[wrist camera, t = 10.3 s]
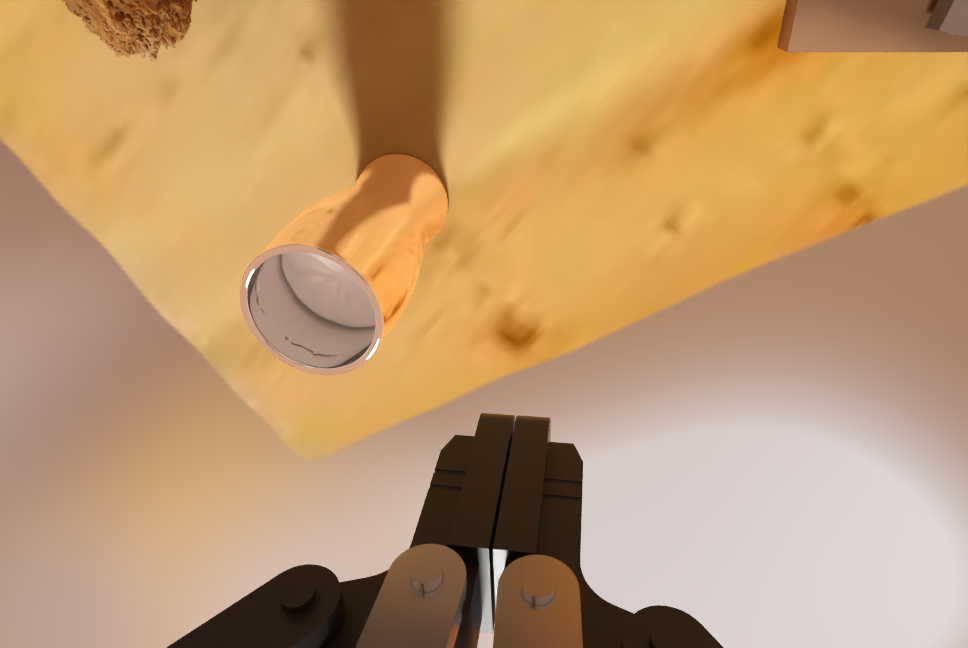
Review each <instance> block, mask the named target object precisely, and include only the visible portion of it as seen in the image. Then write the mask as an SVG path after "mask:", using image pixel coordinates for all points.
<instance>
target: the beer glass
mask: <svg viewBox="0 0 968 648" xmlns="http://www.w3.org/2000/svg"><path fill="white" fill-rule="evenodd" d="M447 212H448V198H447V193H446V190H445V187H444V185H443V183H442V181H441V179H440V178H439V176H438V175H437V174H436V173H435V171H434V170H433V169H432V168H431V167H429V166H428V165H427V164H426V163H424V162H423V161H421V160H419V159H417V158H415V157H412V156H408V155H404V154H390V155H385V156H382V157H379V158H377V159H375V160H374V161H372V162H371V163H369V164H368V165H367V166H366V167H365V168H364V170H363V171H362V172H361V174H360V176H359V177H358V179H357V182H356V184H355V186H354V187H352V188H349V189H347V190H344V191H341V192H339V193H336V194H334V195H331V196H329V197H327V198H325V199H323V200H321V201H319V202H317V203H315V204H313V205H311V206H310V207H308V208H307V209H306V210H304V211H303V212H302V213H300V214H299V215H298V216H296V217H295V218H294V219H293V220H291V221H290V222H289V223H288V224H287V225H286V226H285V227H284V228H283V229H282V230H281V231H280V232H279V233H278V234H277V235H276V236H275V238H274V239H273V240H272V241H271V242H270V243H269V244H268V245H267V247H266V248H265V249H264V250H263V251H262V253H261V254H260V255H259V256H257V257H256V258H255V259H254V260H253V261H252V262H251V264H250V265H249V266H248V268H247V270H246V271H245V273H244V276H243V278H242V282H241V287H240V302H241V308H242V312H243V315H244V318H245V320H246V322H247V325H248V326H249V328H250V330H251V332H252V333H253V335H254V336H255V337H256V339H257V340H258V341H259V342H260V343H261V345H262V346H263V347H264V348H265V349H266V350H268V351H269V352H270V353H271V354H272V355H274V356H275V357H276V358H278V359H279V360H281V361H282V362H284V363H286V364H288V365H290V366H292V367H294V368H296V369H299V370H302V371H305V372H309V373H314V374H321V375H334V374H341V373H346V372H349V371H352V370H354V369H356V368H358V367H360V366H361V365H363V364H364V363H366V362H367V361H368V360H369V359H370V358H371V357H372V356H373V354H374V353H375V351H376V350H377V348H378V346H379V345H380V343H381V342H382V341H383V339H384V338H385V337H386V336H387V334H388V333H389V332H390V330H391V329H392V328H393V326H394V325H395V323H396V322H397V320H398V319H399V317H400V316H401V314H402V312H403V311H404V309H405V307H406V306H407V303H408V301H409V299H410V297H411V295H412V293H413V291H414V288H415V285H416V282H417V278H418V275H419V271H420V267H421V261H422V256H423V249H424V244H425V243H427V242H428V241H430V240H431V239H432V238H433V237H434V236H435V235H436V234H437V233H438V232H439V231H440V229H441V228H442V226H443V224H444V222H445V220H446V217H447Z"/></svg>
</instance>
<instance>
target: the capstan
mask: <svg viewBox="0 0 968 648" xmlns="http://www.w3.org/2000/svg"><path fill="white" fill-rule="evenodd" d="M925 28H928V29H933V30H938V31H942V32H947V33H952V34H957V35H962V36H967V37H968V0H938V2H937V4H936V6H935V8H934V10H933V12H932V14H931V16H930V18H929V20H928V22H927V24H926V26H925Z"/></svg>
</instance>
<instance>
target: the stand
mask: <svg viewBox="0 0 968 648" xmlns="http://www.w3.org/2000/svg"><path fill="white" fill-rule="evenodd" d="M937 2H938V0H787V2H786V7H785V13H784V18H783V23H782V28H781V33H780V38H779V43H778V48H780V49H782V50H784V51H786V52H968V37H967V36H962V35H957V34H952V33H947V32H942V31H938V30H933V29H928V28H925V26H926V24H927V22H928V20H929V18H930V16H931V14H932V12H933V10H934V8H935V6H936V4H937Z"/></svg>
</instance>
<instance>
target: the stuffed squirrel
mask: <svg viewBox="0 0 968 648" xmlns="http://www.w3.org/2000/svg"><path fill="white" fill-rule="evenodd" d="M62 1H63V2H66V5H67V8H68V10H70V12H72V13H73V14H75V15H77V16H78V17H82V21H83V22H84V23H86V28H87V29H88V30H89V32H90V33H95V34H97V36H100V40H102V41H103V42H104V43H106V44H107V45H108V48H109V49H110V50H114V51H115V53H116V57H117V58H119V56H120V55H125V56H126V57H128V56H129V57H130V55H137V54H139V53H140V54H141V57H145V51H146V52H147V53H148V55H149V58H150V60H151V61H154V60H156V58H157V53H158V49H159V47H160V43H161V44H162V45H164V46H165V47H166V48H167V47H168V46H172V47H173V48H175V47H174V44H176V43H177V42H179V41H180V40H182V39H183V37H184V35H185V34H186V33H187V30H188V28H189V24H190V23H191V17H190V14H191V9H192V1H193V0H62ZM195 1H197V0H195Z"/></svg>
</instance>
